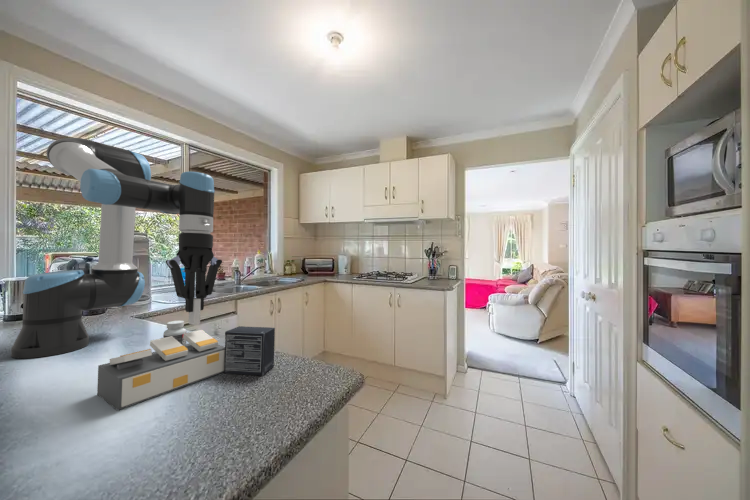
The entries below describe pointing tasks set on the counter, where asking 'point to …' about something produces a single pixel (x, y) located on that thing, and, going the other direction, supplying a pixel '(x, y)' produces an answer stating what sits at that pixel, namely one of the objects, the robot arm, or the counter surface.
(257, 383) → the counter surface
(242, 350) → the small box
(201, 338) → the switch
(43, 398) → the counter surface
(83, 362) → the counter surface
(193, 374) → the console
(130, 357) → the switch
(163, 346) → the switch
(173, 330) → the pill bottle
